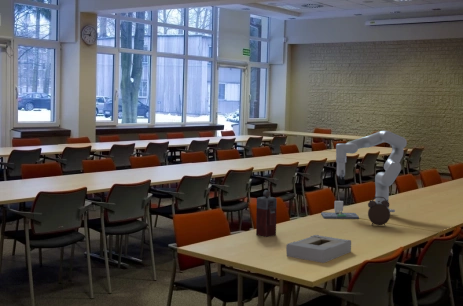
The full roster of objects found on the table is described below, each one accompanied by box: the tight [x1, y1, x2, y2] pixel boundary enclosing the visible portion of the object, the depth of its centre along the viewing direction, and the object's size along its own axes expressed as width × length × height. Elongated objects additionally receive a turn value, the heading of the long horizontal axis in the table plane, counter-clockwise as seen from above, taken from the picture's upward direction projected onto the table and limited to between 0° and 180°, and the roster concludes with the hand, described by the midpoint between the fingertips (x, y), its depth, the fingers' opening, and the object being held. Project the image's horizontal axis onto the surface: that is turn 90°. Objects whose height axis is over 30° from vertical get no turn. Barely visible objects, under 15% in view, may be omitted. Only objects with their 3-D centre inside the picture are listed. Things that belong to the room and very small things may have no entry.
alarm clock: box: [367, 196, 391, 227], centre depth 416 cm, size 15×7×20 cm, turn 84°
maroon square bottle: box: [255, 189, 278, 238], centre depth 383 cm, size 9×11×28 cm
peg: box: [333, 200, 344, 214], centre depth 450 cm, size 13×6×9 cm, turn 178°
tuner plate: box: [320, 211, 360, 220], centre depth 450 cm, size 25×16×3 cm, turn 89°
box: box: [285, 234, 352, 264], centre depth 337 cm, size 23×8×32 cm
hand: (341, 183), depth 455 cm, fingers open, 9 cm apart
